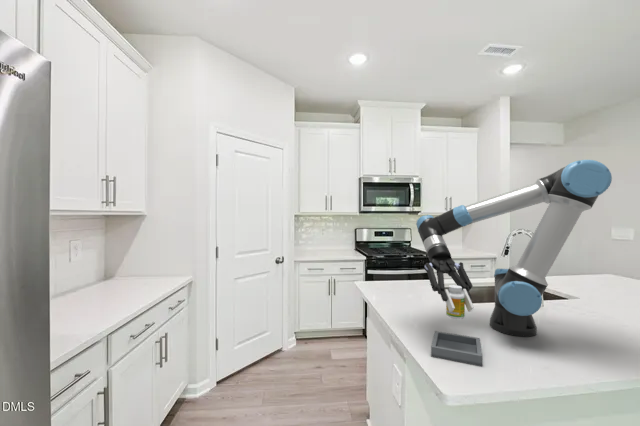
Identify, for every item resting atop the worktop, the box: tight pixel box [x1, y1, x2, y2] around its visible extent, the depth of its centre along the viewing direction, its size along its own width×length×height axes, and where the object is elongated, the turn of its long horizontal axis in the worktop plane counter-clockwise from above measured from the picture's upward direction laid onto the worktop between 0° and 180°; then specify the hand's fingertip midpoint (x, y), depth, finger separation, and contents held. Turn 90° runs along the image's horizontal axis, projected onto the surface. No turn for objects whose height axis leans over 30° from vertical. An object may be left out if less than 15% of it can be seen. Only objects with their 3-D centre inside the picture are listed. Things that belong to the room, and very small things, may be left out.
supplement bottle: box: [445, 284, 466, 320], centre depth 95 cm, size 5×5×10 cm
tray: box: [430, 330, 483, 367], centre depth 95 cm, size 14×14×3 cm
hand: (461, 309), depth 91 cm, fingers closed on supplement bottle, 5 cm apart
